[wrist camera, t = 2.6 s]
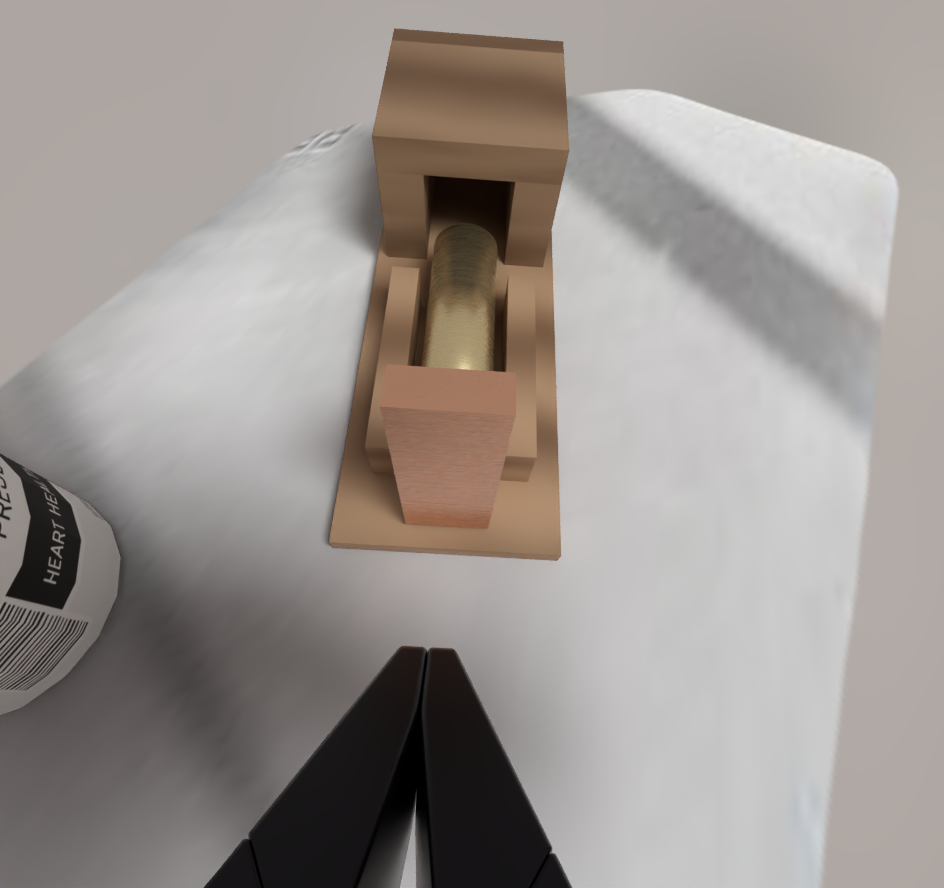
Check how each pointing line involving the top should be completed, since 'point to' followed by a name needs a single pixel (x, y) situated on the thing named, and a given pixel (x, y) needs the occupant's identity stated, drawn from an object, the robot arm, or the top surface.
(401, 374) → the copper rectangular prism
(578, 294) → the top surface
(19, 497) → the supplement can
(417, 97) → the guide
